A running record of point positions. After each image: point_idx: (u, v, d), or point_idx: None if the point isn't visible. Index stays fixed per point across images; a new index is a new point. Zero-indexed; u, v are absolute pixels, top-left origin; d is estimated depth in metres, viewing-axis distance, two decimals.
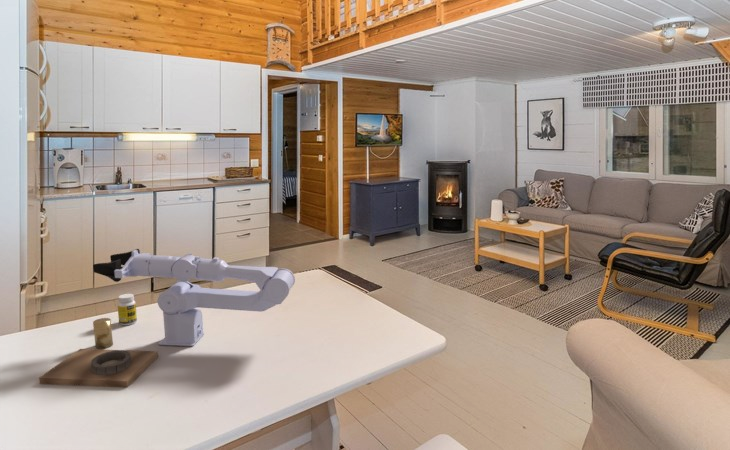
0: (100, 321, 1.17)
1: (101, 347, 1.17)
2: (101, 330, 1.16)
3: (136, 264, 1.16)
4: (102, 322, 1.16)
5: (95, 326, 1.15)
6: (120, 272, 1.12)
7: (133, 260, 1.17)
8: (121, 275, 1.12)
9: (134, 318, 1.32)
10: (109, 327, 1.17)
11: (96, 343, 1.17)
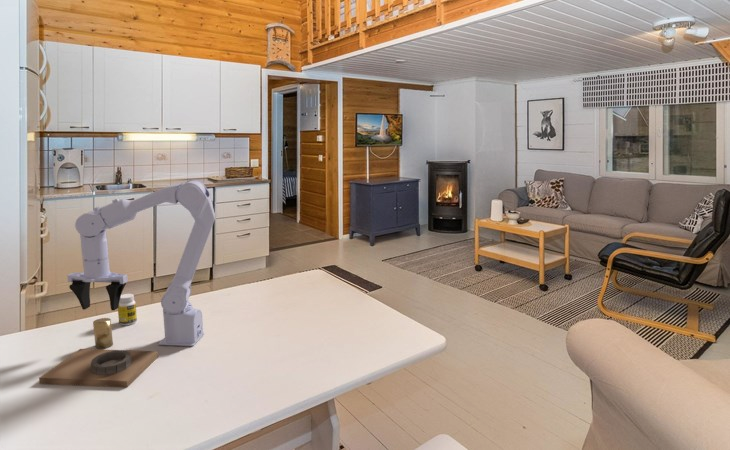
0: (100, 321, 1.17)
1: (101, 347, 1.17)
2: (101, 330, 1.16)
3: (103, 271, 1.13)
4: (102, 322, 1.16)
5: (95, 326, 1.15)
6: (123, 277, 1.14)
7: (100, 276, 1.13)
8: (125, 276, 1.15)
9: (134, 318, 1.32)
10: (109, 327, 1.17)
11: (96, 343, 1.17)
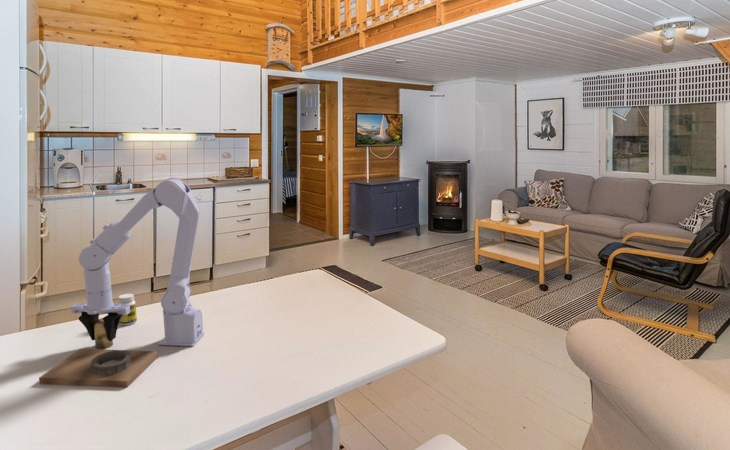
0: (100, 321, 1.17)
1: (101, 347, 1.17)
2: (101, 330, 1.16)
3: (106, 303, 1.15)
4: (102, 322, 1.16)
5: (95, 326, 1.15)
6: (126, 309, 1.16)
7: (103, 308, 1.14)
8: (128, 307, 1.16)
9: (134, 318, 1.32)
10: None
11: (96, 343, 1.17)
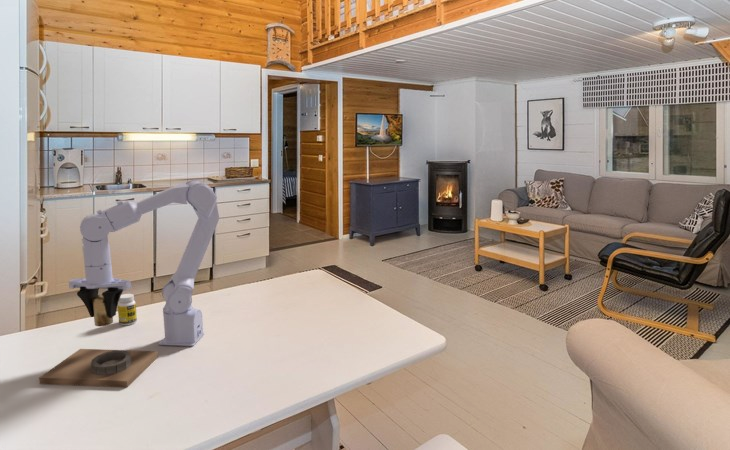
0: (99, 297, 1.11)
1: (100, 324, 1.10)
2: (100, 306, 1.10)
3: (106, 277, 1.09)
4: (101, 298, 1.10)
5: (94, 302, 1.09)
6: (127, 283, 1.09)
7: (102, 282, 1.08)
8: (128, 282, 1.10)
9: (134, 318, 1.32)
10: None
11: (95, 320, 1.10)
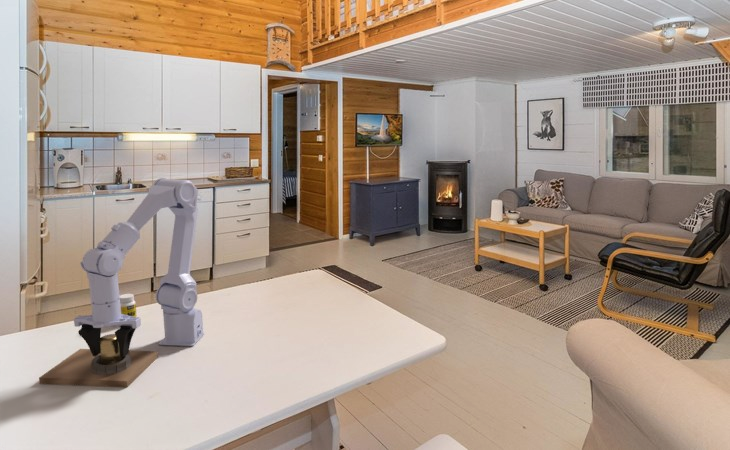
0: (107, 338, 1.04)
1: None
2: (109, 349, 1.02)
3: (114, 315, 1.01)
4: (110, 339, 1.03)
5: (102, 344, 1.02)
6: (137, 321, 1.02)
7: (110, 320, 1.01)
8: (138, 319, 1.03)
9: None
10: (118, 344, 1.04)
11: (103, 363, 1.03)
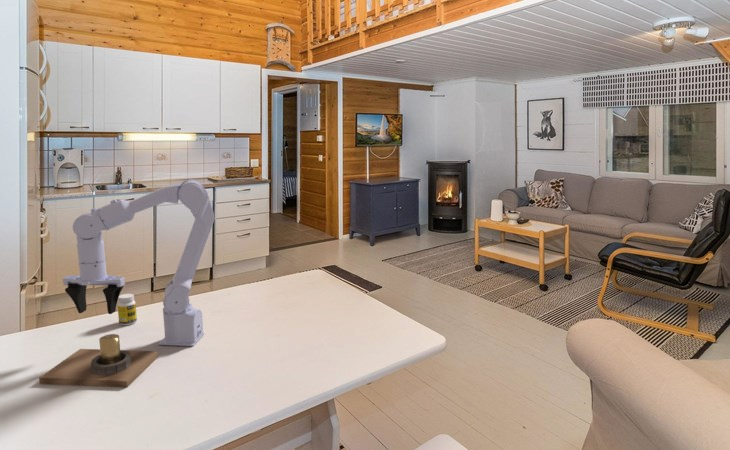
0: (107, 338, 1.04)
1: None
2: (109, 349, 1.02)
3: (100, 274, 1.11)
4: (110, 339, 1.03)
5: (102, 344, 1.02)
6: (121, 280, 1.12)
7: (96, 279, 1.10)
8: (122, 278, 1.13)
9: (134, 318, 1.32)
10: (118, 344, 1.04)
11: (103, 363, 1.03)
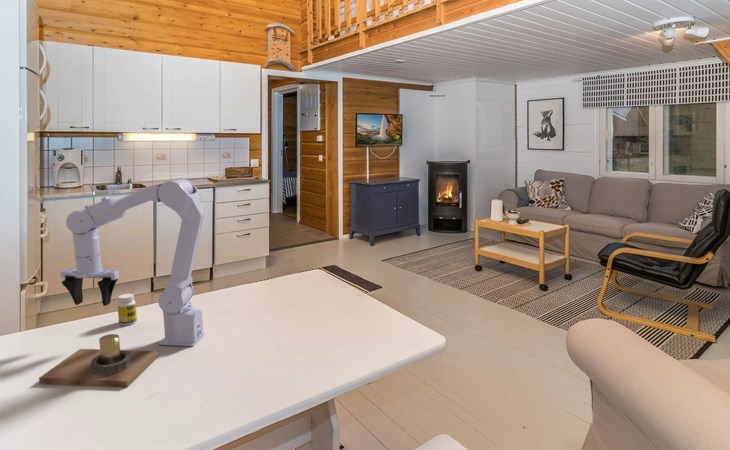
0: (107, 338, 1.04)
1: None
2: (109, 349, 1.02)
3: (95, 267, 1.16)
4: (110, 339, 1.03)
5: (102, 344, 1.02)
6: (115, 273, 1.17)
7: (92, 272, 1.16)
8: (116, 272, 1.18)
9: (134, 318, 1.32)
10: (118, 344, 1.04)
11: (103, 363, 1.03)
